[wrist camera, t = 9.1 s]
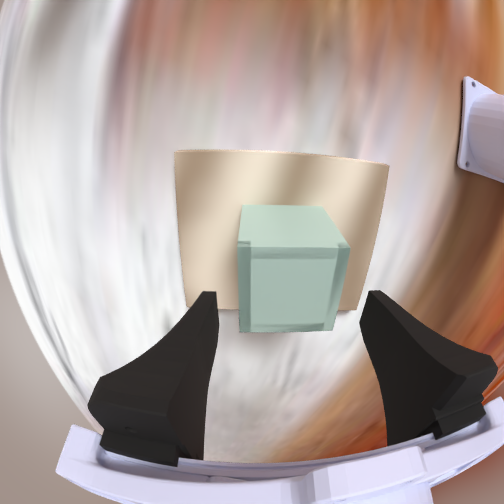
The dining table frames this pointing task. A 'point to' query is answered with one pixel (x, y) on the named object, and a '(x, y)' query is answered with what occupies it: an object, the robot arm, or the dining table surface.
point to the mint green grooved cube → (289, 268)
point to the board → (270, 193)
